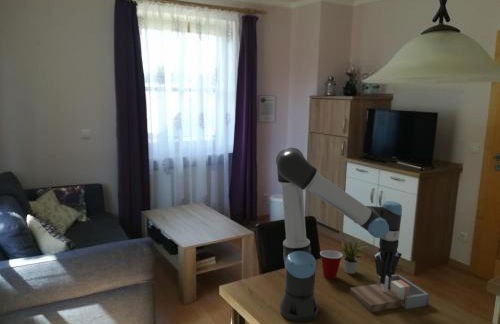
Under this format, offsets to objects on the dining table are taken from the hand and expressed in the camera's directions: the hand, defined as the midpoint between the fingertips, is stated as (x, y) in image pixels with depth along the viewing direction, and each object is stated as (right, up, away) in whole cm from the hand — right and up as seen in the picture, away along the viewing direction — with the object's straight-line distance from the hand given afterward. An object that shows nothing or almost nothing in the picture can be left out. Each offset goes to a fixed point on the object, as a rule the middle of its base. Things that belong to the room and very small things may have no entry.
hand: (383, 290), depth 166 cm
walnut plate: (-4, -4, -1) cm, 6 cm away
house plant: (-7, 0, +26) cm, 27 cm away
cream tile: (+5, -1, +2) cm, 6 cm away
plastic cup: (-19, 0, +20) cm, 28 cm away
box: (+10, -4, +4) cm, 11 cm away
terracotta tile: (+8, -1, +3) cm, 8 cm away
